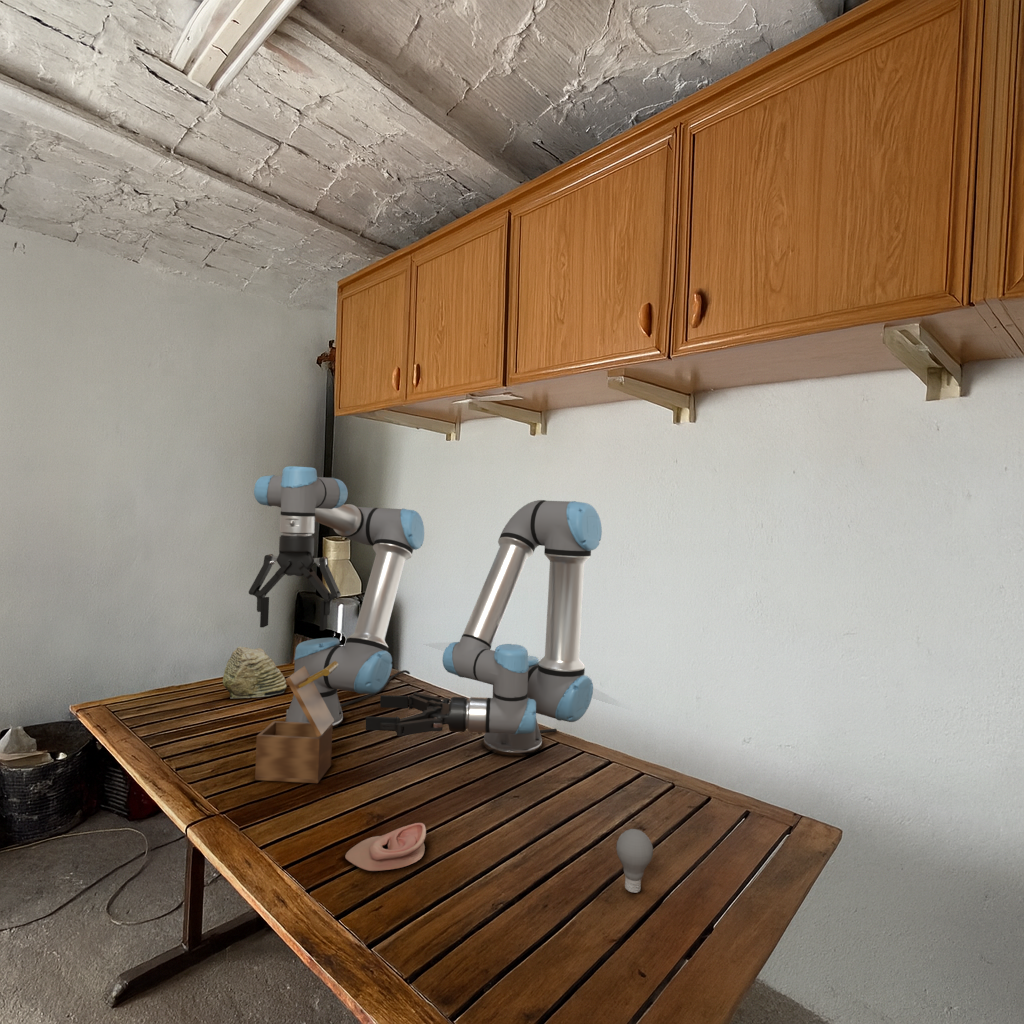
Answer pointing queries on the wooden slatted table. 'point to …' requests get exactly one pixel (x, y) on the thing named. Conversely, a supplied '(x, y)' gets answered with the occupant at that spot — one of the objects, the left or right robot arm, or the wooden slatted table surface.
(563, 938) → the wooden slatted table surface
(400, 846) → the anatomical model
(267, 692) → the fossil
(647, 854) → the light bulb
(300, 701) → the panel with bar handle
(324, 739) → the chest
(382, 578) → the left robot arm
